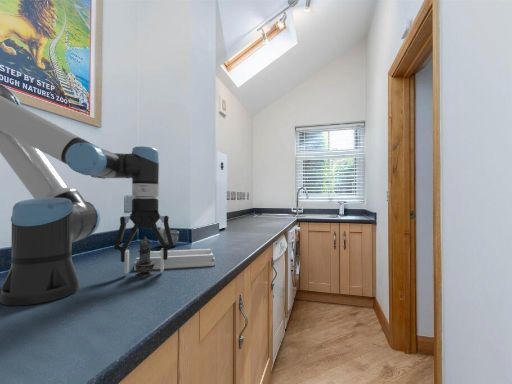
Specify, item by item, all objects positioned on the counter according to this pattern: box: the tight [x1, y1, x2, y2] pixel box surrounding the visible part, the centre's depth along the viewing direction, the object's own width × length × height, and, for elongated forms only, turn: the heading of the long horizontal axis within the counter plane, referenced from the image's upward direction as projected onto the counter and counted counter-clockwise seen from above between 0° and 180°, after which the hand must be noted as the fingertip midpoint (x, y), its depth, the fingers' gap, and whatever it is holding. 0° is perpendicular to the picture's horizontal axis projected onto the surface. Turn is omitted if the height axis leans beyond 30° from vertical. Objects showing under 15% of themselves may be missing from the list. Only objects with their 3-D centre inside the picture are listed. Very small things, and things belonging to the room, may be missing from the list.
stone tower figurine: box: [133, 235, 155, 278], centre depth 83 cm, size 6×6×12 cm
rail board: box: [133, 248, 216, 271], centre depth 97 cm, size 26×12×4 cm, turn 105°
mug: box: [157, 225, 180, 247], centre depth 128 cm, size 10×12×10 cm
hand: (144, 271), depth 83 cm, fingers open, 9 cm apart
